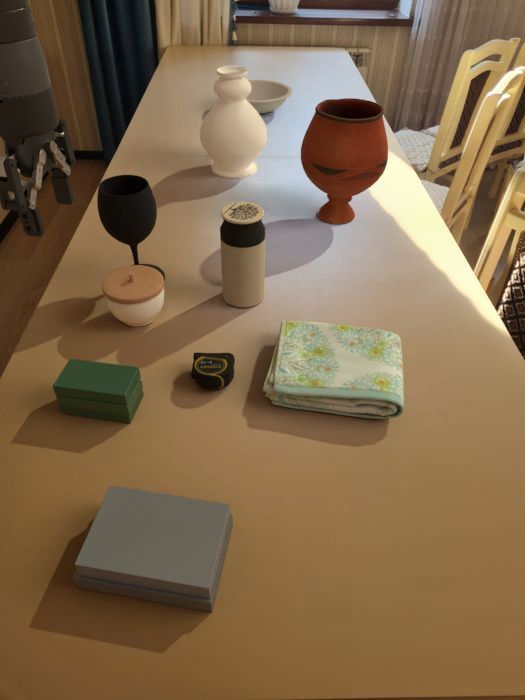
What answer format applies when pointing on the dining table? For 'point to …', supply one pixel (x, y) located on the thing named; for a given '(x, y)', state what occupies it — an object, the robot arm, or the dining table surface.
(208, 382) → the tape measure
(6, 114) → the robot arm
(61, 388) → the green book
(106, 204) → the wine glass
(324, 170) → the goblet
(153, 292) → the trinket box
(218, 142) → the decorative vase
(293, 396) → the towel
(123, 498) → the grey books
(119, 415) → the green books
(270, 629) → the dining table surface
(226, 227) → the travel mug
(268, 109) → the soup bowl
